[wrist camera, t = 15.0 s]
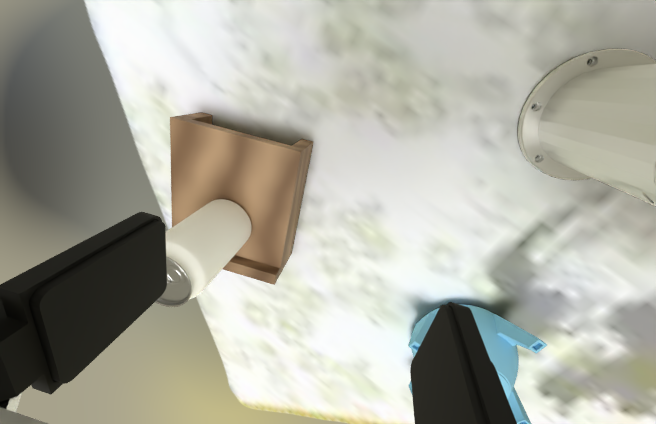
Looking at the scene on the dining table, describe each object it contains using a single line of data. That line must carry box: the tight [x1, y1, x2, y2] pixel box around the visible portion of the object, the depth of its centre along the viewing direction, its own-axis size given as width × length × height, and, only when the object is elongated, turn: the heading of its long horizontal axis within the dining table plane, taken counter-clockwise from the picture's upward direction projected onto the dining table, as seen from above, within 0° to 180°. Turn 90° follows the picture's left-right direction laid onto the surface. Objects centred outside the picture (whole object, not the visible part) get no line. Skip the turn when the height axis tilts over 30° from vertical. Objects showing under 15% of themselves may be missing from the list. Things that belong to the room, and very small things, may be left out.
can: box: [155, 199, 251, 307], centre depth 30 cm, size 6×6×12 cm
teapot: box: [408, 304, 547, 424], centre depth 39 cm, size 15×15×11 cm
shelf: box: [170, 112, 313, 285], centre depth 37 cm, size 15×17×8 cm
